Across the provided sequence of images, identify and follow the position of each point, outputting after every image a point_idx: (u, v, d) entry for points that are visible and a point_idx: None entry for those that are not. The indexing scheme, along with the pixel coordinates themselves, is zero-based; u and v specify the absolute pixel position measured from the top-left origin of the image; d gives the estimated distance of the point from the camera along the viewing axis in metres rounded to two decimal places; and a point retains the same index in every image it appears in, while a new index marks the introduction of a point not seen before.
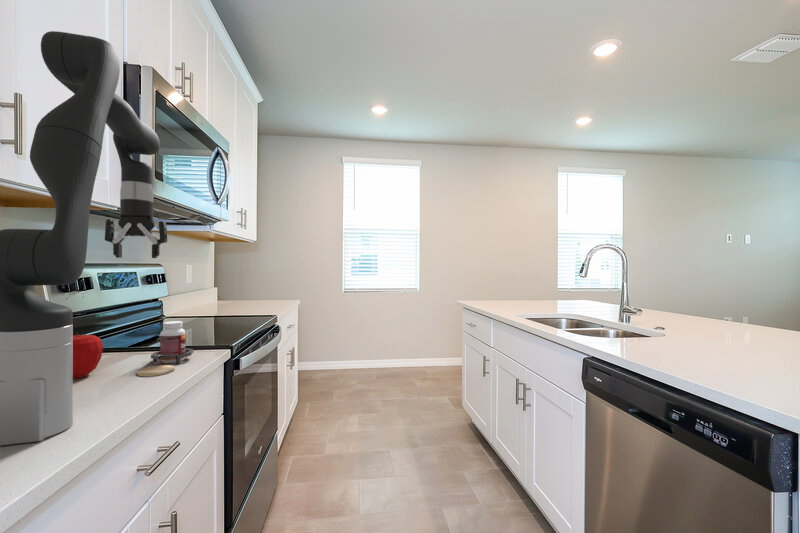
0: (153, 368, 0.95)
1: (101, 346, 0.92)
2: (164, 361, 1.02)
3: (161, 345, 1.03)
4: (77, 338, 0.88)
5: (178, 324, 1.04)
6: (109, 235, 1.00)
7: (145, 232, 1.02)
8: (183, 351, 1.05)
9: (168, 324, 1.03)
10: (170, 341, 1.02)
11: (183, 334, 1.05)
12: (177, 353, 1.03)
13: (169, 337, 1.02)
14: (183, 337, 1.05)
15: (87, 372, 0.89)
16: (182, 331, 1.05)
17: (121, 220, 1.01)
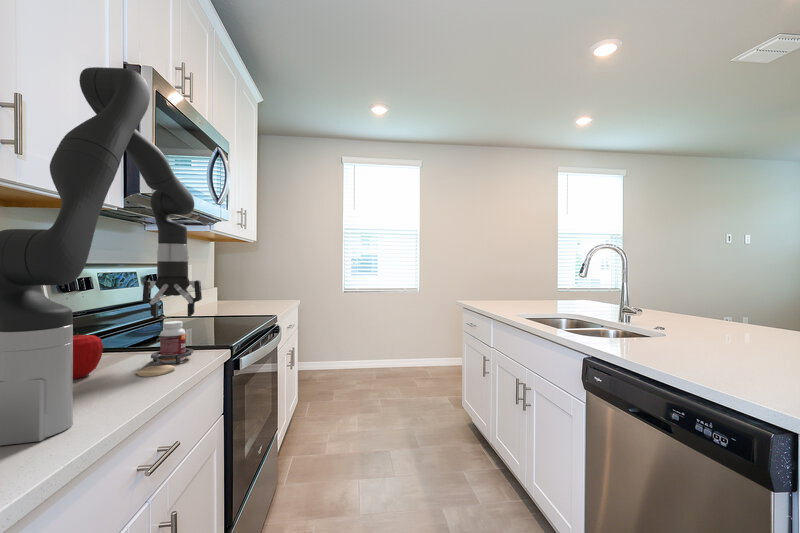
0: (153, 368, 0.95)
1: (101, 346, 0.92)
2: (164, 361, 1.02)
3: (161, 345, 1.03)
4: (77, 338, 0.88)
5: (178, 324, 1.04)
6: (147, 296, 1.02)
7: (181, 292, 1.04)
8: (183, 351, 1.05)
9: (168, 324, 1.03)
10: (170, 341, 1.02)
11: (183, 334, 1.05)
12: (177, 353, 1.03)
13: (169, 337, 1.02)
14: (183, 337, 1.05)
15: (87, 372, 0.89)
16: (182, 331, 1.05)
17: (158, 281, 1.03)
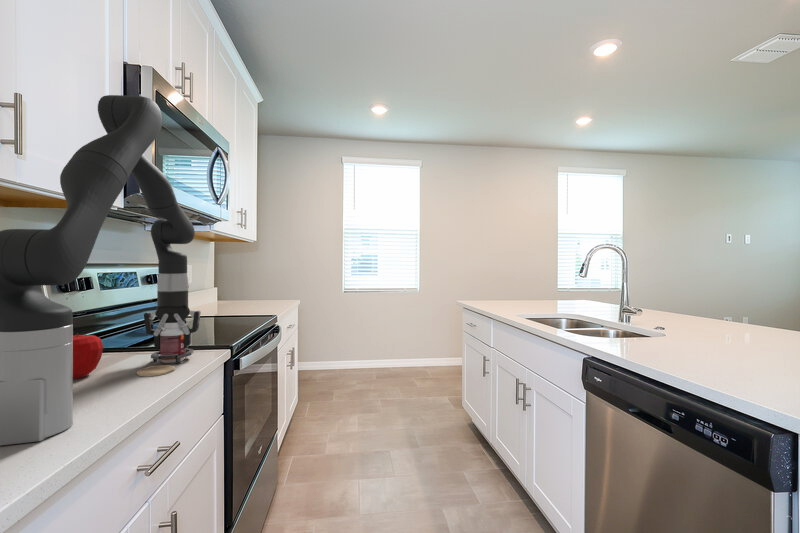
0: (153, 368, 0.95)
1: (101, 346, 0.92)
2: (164, 361, 1.02)
3: (161, 345, 1.03)
4: (77, 338, 0.88)
5: (178, 324, 1.04)
6: (149, 328, 1.02)
7: (180, 322, 1.04)
8: (183, 351, 1.05)
9: (168, 324, 1.03)
10: (170, 341, 1.02)
11: (183, 334, 1.05)
12: (177, 353, 1.03)
13: (169, 337, 1.02)
14: (183, 337, 1.05)
15: (87, 372, 0.89)
16: (182, 331, 1.05)
17: (158, 311, 1.03)
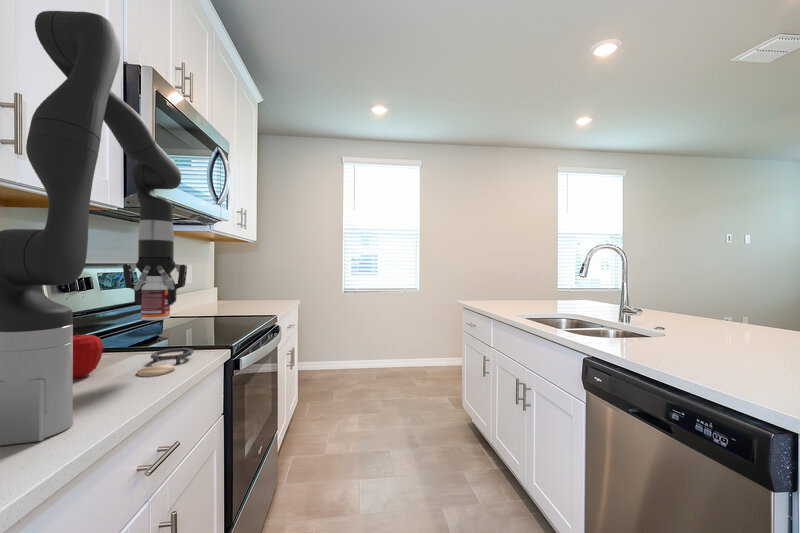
0: (153, 368, 0.95)
1: (101, 346, 0.92)
2: (145, 318, 0.91)
3: (142, 300, 0.92)
4: (77, 338, 0.88)
5: (161, 278, 0.93)
6: (129, 281, 0.91)
7: (164, 276, 0.93)
8: (167, 308, 0.94)
9: (150, 277, 0.92)
10: (152, 295, 0.91)
11: (167, 289, 0.94)
12: (160, 309, 0.92)
13: (151, 292, 0.91)
14: (167, 292, 0.94)
15: (87, 372, 0.89)
16: (166, 286, 0.94)
17: (139, 262, 0.92)
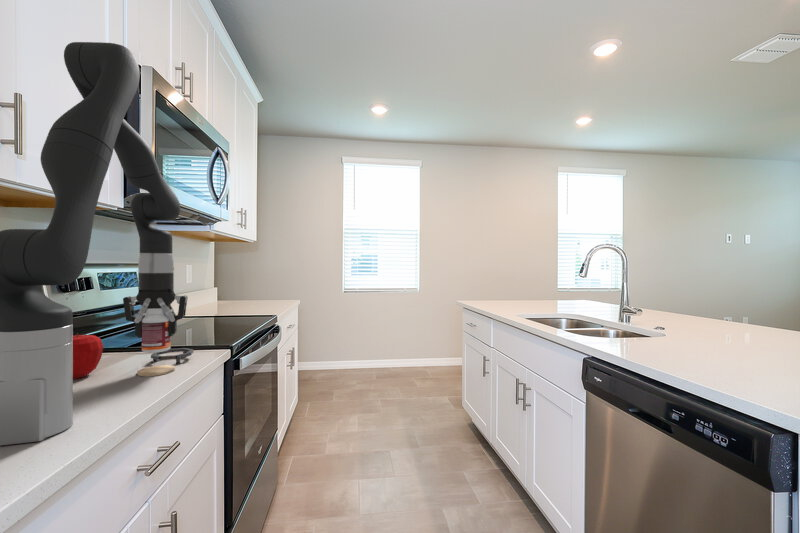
0: (153, 368, 0.95)
1: (101, 346, 0.92)
2: (146, 351, 0.91)
3: (143, 333, 0.92)
4: (77, 338, 0.88)
5: (162, 310, 0.93)
6: (130, 314, 0.92)
7: (164, 308, 0.93)
8: (168, 340, 0.94)
9: (150, 310, 0.92)
10: (153, 328, 0.92)
11: (168, 321, 0.94)
12: (161, 342, 0.93)
13: (152, 324, 0.91)
14: (168, 324, 0.94)
15: (87, 372, 0.89)
16: (166, 318, 0.94)
17: (139, 295, 0.92)
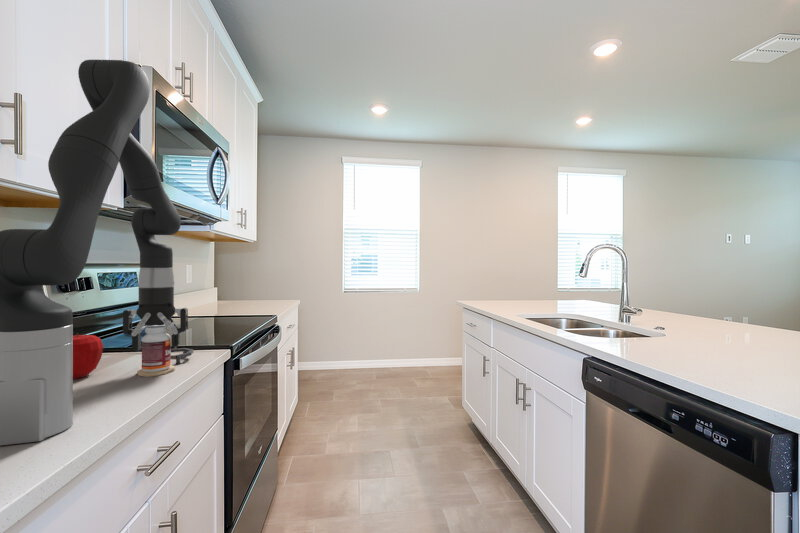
0: None
1: (101, 346, 0.92)
2: (146, 370, 0.91)
3: (143, 352, 0.92)
4: (77, 338, 0.88)
5: (162, 329, 0.93)
6: (127, 327, 0.91)
7: (165, 322, 0.93)
8: (168, 358, 0.94)
9: (150, 329, 0.92)
10: (153, 347, 0.91)
11: (168, 340, 0.94)
12: (161, 361, 0.92)
13: (152, 344, 0.91)
14: (168, 343, 0.94)
15: (87, 372, 0.89)
16: (166, 336, 0.94)
17: (139, 309, 0.92)
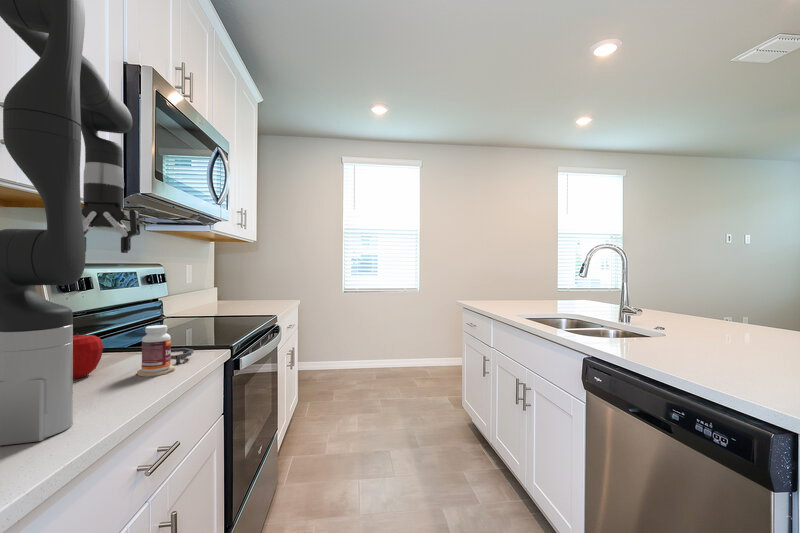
0: None
1: (101, 346, 0.92)
2: (146, 370, 0.91)
3: (143, 352, 0.92)
4: (77, 338, 0.88)
5: (162, 329, 0.93)
6: None
7: (113, 222, 0.87)
8: (168, 359, 0.94)
9: (151, 329, 0.92)
10: (153, 347, 0.91)
11: (168, 340, 0.94)
12: (161, 361, 0.92)
13: (152, 344, 0.91)
14: (168, 343, 0.94)
15: (87, 372, 0.89)
16: (167, 336, 0.94)
17: (85, 208, 0.86)
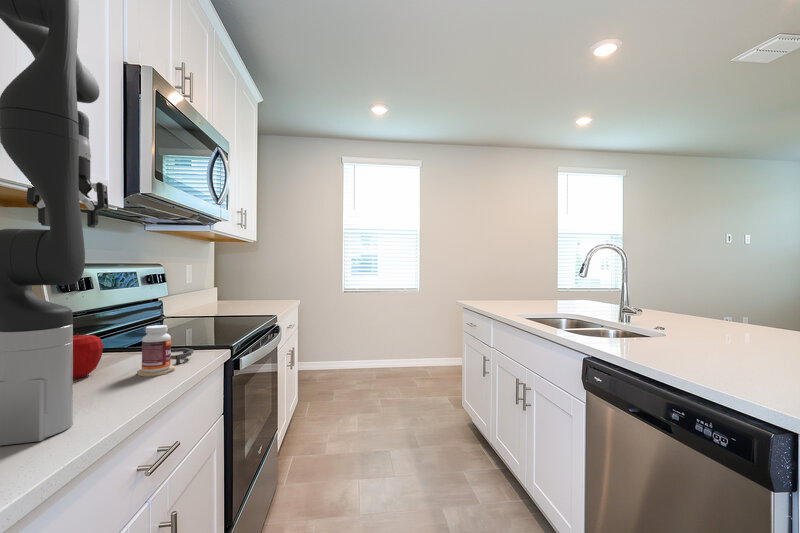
0: None
1: (101, 346, 0.92)
2: (146, 370, 0.91)
3: (143, 352, 0.92)
4: (77, 338, 0.88)
5: (162, 329, 0.93)
6: (32, 197, 0.82)
7: (78, 195, 0.84)
8: (168, 359, 0.94)
9: (151, 329, 0.92)
10: (153, 347, 0.91)
11: (168, 340, 0.94)
12: (161, 361, 0.92)
13: (152, 344, 0.91)
14: (168, 343, 0.94)
15: (87, 372, 0.89)
16: (167, 336, 0.94)
17: None
